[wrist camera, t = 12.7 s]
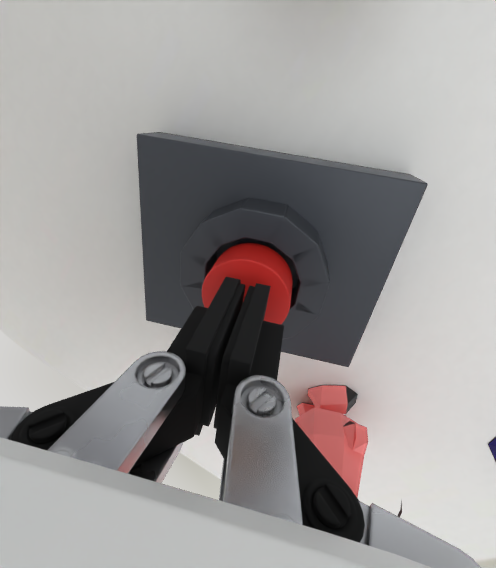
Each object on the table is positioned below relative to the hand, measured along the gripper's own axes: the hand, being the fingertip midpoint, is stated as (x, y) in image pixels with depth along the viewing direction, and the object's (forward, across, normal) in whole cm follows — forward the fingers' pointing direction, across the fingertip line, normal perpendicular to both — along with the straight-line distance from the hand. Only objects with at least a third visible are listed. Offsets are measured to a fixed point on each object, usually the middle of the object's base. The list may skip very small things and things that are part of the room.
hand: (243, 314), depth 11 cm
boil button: (+3, 0, 0) cm, 3 cm away
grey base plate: (+6, 0, 0) cm, 6 cm away
